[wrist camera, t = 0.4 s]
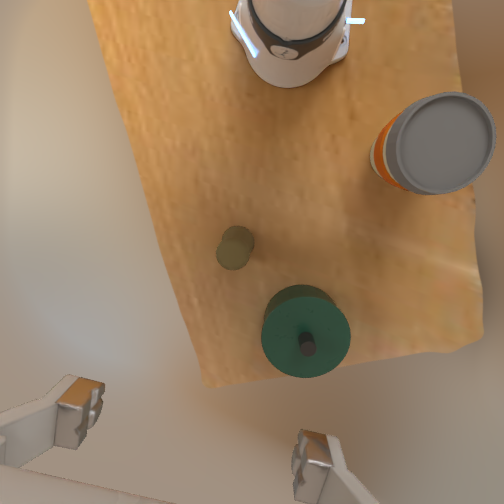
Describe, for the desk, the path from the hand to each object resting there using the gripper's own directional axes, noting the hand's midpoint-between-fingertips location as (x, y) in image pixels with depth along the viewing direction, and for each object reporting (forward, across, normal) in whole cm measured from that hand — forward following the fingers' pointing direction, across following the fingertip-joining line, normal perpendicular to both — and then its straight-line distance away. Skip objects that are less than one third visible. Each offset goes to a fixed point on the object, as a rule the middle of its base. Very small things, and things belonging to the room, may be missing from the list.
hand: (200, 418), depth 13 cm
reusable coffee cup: (+46, -21, -19) cm, 54 cm away
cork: (+46, +2, +2) cm, 46 cm away
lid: (+39, -13, +14) cm, 44 cm away
